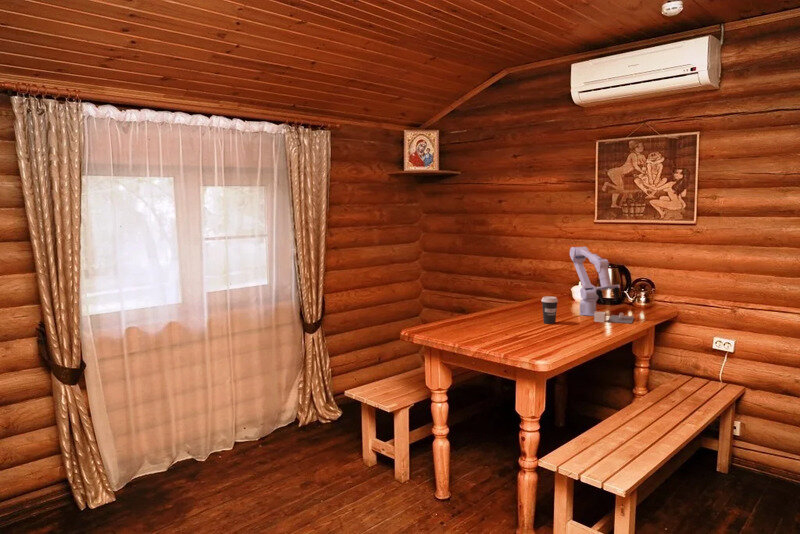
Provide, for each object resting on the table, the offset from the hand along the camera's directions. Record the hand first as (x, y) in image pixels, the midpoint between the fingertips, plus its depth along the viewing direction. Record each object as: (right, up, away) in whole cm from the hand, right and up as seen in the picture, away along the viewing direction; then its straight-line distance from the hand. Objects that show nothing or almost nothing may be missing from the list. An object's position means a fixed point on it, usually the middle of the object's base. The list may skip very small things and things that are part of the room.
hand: (609, 301), depth 332 cm
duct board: (+8, -11, +4) cm, 14 cm away
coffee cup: (-35, -12, 0) cm, 37 cm away
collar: (-5, -11, +2) cm, 13 cm away
